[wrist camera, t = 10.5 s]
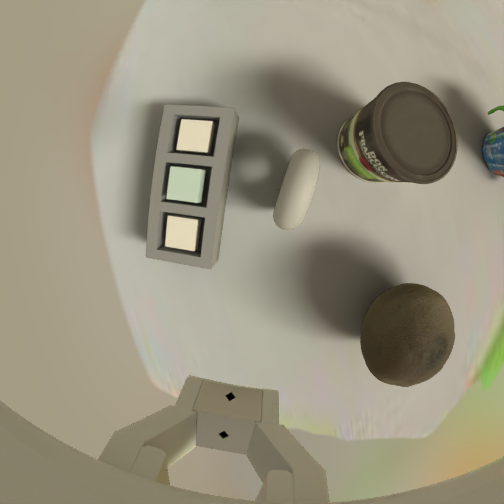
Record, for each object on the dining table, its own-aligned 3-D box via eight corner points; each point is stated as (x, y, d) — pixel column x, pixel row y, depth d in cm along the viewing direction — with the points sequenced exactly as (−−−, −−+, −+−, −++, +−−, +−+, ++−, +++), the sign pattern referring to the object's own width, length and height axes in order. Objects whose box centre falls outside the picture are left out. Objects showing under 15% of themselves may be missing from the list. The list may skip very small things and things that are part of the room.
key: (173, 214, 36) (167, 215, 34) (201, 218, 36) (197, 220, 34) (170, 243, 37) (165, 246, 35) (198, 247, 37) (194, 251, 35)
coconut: (438, 293, 39) (489, 333, 24) (390, 359, 42) (422, 416, 28) (380, 252, 38) (431, 286, 24) (328, 328, 41) (350, 391, 27)
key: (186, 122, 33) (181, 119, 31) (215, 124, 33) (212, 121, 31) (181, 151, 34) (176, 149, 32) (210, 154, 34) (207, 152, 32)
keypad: (176, 113, 36) (164, 104, 31) (238, 117, 35) (234, 108, 30) (159, 248, 40) (145, 257, 35) (218, 259, 40) (211, 269, 35)
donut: (291, 150, 36) (298, 137, 26) (315, 158, 36) (331, 149, 26) (269, 219, 38) (268, 231, 29) (293, 227, 38) (300, 241, 29)
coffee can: (369, 197, 37) (416, 205, 23) (321, 140, 35) (349, 116, 22) (415, 155, 34) (472, 147, 21) (371, 99, 33) (414, 65, 19)
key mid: (175, 167, 34) (170, 166, 32) (205, 170, 34) (202, 169, 32) (171, 198, 35) (166, 198, 33) (201, 201, 35) (197, 202, 33)
